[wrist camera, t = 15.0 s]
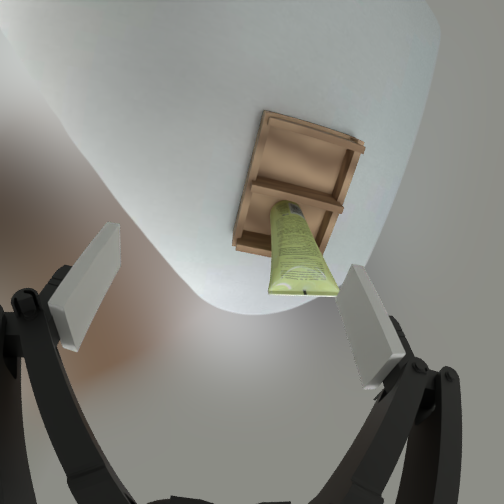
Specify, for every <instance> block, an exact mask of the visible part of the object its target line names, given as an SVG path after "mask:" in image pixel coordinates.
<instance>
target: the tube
mask: <svg viewBox="0 0 504 504" xmlns="http://www.w3.org/2000/svg"><path fill="white" fill-rule="evenodd" d="M270 223H271V245H272V259H271V275H270V283H269V288H268V294H269V295H287V296H326V297H337V295H338V293H339V291H340V289H339V288H338V286H337V284H336V282H335V280H334V278H333V276H332V274H331V272H330V270H329V268H328V266H327V264H326V262H325V260H324V258H323V256H322V254H321V252H320V250H319V248H318V246H317V244H316V241H315V239H314V237H313V235H312V233H311V231H310V228H309V226H308V224H307V222H306V220H305V217H304V215H303V213H302V210H301V208H300V207H299V205H298V204H296V203H295V202H292V201H288V200H283V201H280V202H278V203H276V204H275V205H274V206H273V207H272V209H271V212H270Z"/></svg>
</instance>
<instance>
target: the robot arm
mask: <svg viewBox="0 0 504 504" xmlns="http://www.w3.org/2000/svg"><path fill="white" fill-rule="evenodd" d="M120 266H121V249H120V224H118V223H112V222H107V223H106V224H105V225H104V227H103V228H102V229H101V231H100V232H99V233H98V234H97V235H96V237H95V238H94V239H93V240H92V242H91V243H90V244H89V245H88V247H87V248H86V249H85V251H84V252H83V253H82V255H81V256H80V257H79V259H78V260H77V261H76V263H75V264H74V265H73V266H68V265H64V266H63V267H61V268H60V269H58V270H57V271H56V272H55V274H54V275H53V276H52V279H50V281H49V282H48V284H46V286H45V287H44V288H43V290H42V291H41V293H40V294H39V295H38V293H37V291H36V290H34V289H32V288H24V289H21V290H19V291H17V292H16V293H15V294H14V295H13V297H12V299H11V305H12V307H13V310H14V312H4V310H3V308H2V306H1V305H0V504H37V503H36V498H35V493H34V489H33V484H32V480H31V475H30V470H29V465H28V459H27V452H26V446H25V439H24V438H25V437H24V428H23V417H22V404H21V403H22V401H21V357H24V358H25V363H26V367H27V371H28V374H29V378H30V382H31V385H32V389H33V392H34V396H35V399H36V402H37V405H38V408H39V411H40V414H41V417H42V419H43V422H44V425H45V428H46V430H47V433H48V435H49V438H50V440H51V442H52V445H53V447H54V450H55V452H56V454H57V456H58V458H59V461H60V463H61V465H62V467H63V469H64V471H65V473H66V476H67V483H68V486H69V488H70V491H71V493H72V494H73V496H74V498H75V500H76V501H77V503H78V504H137V503H136V502H135V500H134V499H133V498H132V496H131V495H130V493H129V492H128V490H127V489H126V488H125V487H124V485H123V484H122V482H121V481H120V479H119V478H118V476H117V475H116V473H115V471H114V470H113V468H112V467H111V465H110V463H109V462H108V460H107V458H106V456H105V455H104V453H103V451H102V450H101V447H100V446H99V444H98V442H97V440H96V438H95V436H94V434H93V432H92V430H91V428H90V426H89V424H88V422H87V420H86V418H85V416H84V414H83V412H82V410H81V408H80V405H79V403H78V401H77V398H76V396H75V394H74V391H73V389H72V386H71V384H70V381H69V379H68V376H67V374H66V371H65V368H64V366H63V363H62V360H61V357H60V355H59V352H58V349H57V344H58V342H59V340H60V341H61V344H62V346H63V348H66V349H69V350H73V351H75V352H78V349H79V347H80V345H81V343H82V341H83V339H84V336H85V334H86V332H87V330H88V328H89V326H90V324H91V322H92V320H93V317H94V316H95V314H96V311H97V310H98V308H99V306H100V303H101V302H102V300H103V298H104V296H105V294H106V292H107V290H108V288H109V286H110V285H111V283H112V281H113V279H114V277H115V275H116V273H117V272H118V270H119V268H120ZM335 301H336V304H337V307H338V310H339V313H340V316H341V319H342V322H343V325H344V328H345V331H346V334H347V337H348V340H349V344H350V347H351V350H352V352H353V356H354V360H355V363H356V366H357V369H358V373H359V376H360V379H361V382H362V386H363V389H376V388H377V387H378V386H379V385H380V384H381V383H382V382H383V384H384V387H385V388H384V389H383V390H382V391H381V392H380V393H379V394H378V395H377V396H376V397H375V398H374V400H376V399H377V401H376V403H375V404H374V406H373V408H372V410H371V412H370V414H369V416H368V417H367V419H366V421H365V423H364V425H363V427H362V428H361V430H360V432H359V433H358V435H357V437H356V439H355V440H354V442H353V444H352V445H351V447H350V448H349V450H348V452H347V453H346V455H345V456H344V458H343V460H342V461H341V463H340V464H339V466H338V467H337V469H336V470H335V472H334V473H333V475H332V476H331V477H330V479H329V480H328V482H327V483H326V484H325V486H324V487H323V489H322V490H321V491H320V493H319V494H318V495H317V496H316V497H315V498H314V499H313V500H311V501H310V502H309V503H308V504H383V503H384V499H383V498H382V497H381V494H382V492H383V490H384V488H385V486H386V484H387V482H388V480H389V478H390V476H391V474H392V472H393V470H394V468H395V466H396V464H397V461H398V459H399V457H400V454H401V452H402V450H403V448H404V445H405V443H406V440H407V438H408V442H407V448H406V455H405V461H404V467H403V471H402V477H401V481H400V486H399V491H398V495H397V499H396V503H395V504H457V502H458V494H459V485H460V472H461V458H462V410H461V393H460V382H459V376H458V374H457V373H456V371H455V370H454V369H452V368H451V367H448V366H445V367H443V368H442V369H441V370H440V371H439V372H436V371H433V370H430V369H429V368H428V366H427V364H426V363H425V362H424V361H423V360H422V359H420V358H417V357H414V354H413V352H412V350H411V348H410V345H409V343H408V341H407V339H406V338H405V335H404V333H403V332H402V329H401V327H400V325H399V323H398V322H397V320H396V319H395V318H394V317H393V316H388V314H387V312H386V310H385V308H384V306H383V304H382V302H381V300H380V298H379V296H378V294H377V292H376V290H375V288H374V286H373V284H372V282H371V280H370V278H369V276H368V274H367V273H366V271H365V269H364V267H363V266H360V265H354V264H352V265H351V267H350V269H349V271H348V274H347V276H346V278H345V280H344V282H343V284H342V286H341V289H340V291H339V293H338V295H337V297H336V299H335ZM147 504H213V503H210V502H207V501H204V500H200V499H192V498H184V497H177V496H171V498H170V499H163V500H157V501H153V502H150V503H147ZM259 504H291V502H290V501H289V502H262V503H259Z"/></svg>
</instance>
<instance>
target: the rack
mask: <svg viewBox="0 0 504 504" xmlns="http://www.w3.org/2000/svg"><path fill="white" fill-rule="evenodd" d="M363 145H364V142H363V141H361V140H359V139H357V138H355V137H352V136H350V135H347V134H344V133H341V132H338V131H335V130H332V129H329V128H326V127H323V126H320V125H316V124H313V123H310V122H306V121H303V120H300V119H296V118H293V117H289V116H285V115H282V114H278V113H274V112H270V111H266V110H264V111H263V115H262V119H261V123H260V127H259V130H258V134H257V138H256V142H255V146H254V150H253V154H252V158H251V162H250V165H249V169H248V173H247V177H246V181H245V185H244V189H243V193H242V198H241V202H240V206H239V210H238V214H237V218H236V222H235V226H234V231H233V240H232V246H236V251H241V252H246V253H251V254H256V255H261V256H267V257H272V245H271V223H270V212H271V209H272V207H273V206H274V205H275V204H276V203H278V202H280V201H283V200H288V201H292V202H295V203H296V204H298V205H299V207H300V208H301V210H302V213H303V215H304V217H305V220H306V222H307V224H308V226H309V228H310V231H311V233H312V235H313V237H314V239H315V241H316V244H317V246H318V248H319V250H320V252H321V254H322V256H323V253H324V251H325V248H326V246H327V243H328V241H329V238H330V236H331V233H332V231H333V228H334V226H335V223H336V220H337V218H338V215H339V214H342V212H343V209H344V207H343V206H342V205H343V202H344V199H345V197H346V194H347V191H348V188H349V186H350V183H351V180H352V177H353V175H354V172H355V169H356V166H357V163H358V160H359V157H360V154H364V151H365V148H366V147H364V146H363Z"/></svg>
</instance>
